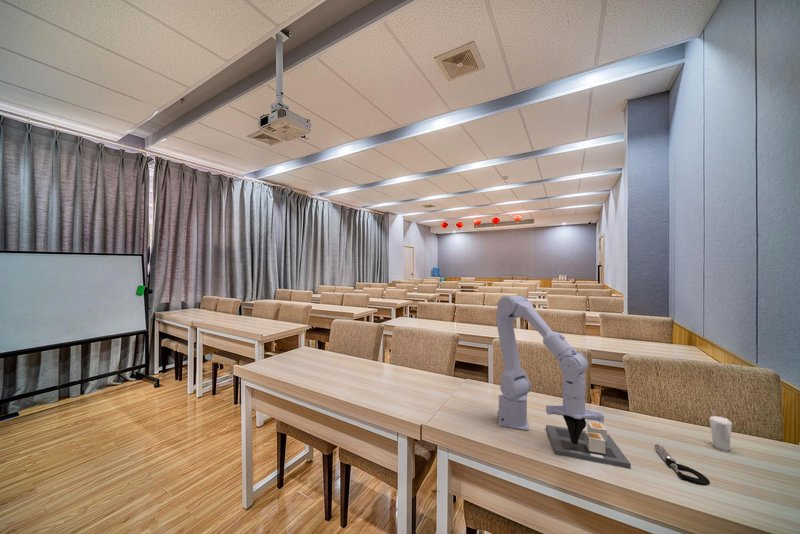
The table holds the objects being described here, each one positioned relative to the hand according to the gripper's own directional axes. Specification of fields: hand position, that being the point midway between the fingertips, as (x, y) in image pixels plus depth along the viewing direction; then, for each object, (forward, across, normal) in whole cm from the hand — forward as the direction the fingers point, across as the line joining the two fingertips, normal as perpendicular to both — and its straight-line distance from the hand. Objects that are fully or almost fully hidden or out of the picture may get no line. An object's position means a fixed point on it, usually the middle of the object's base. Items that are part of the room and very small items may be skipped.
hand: (573, 442), depth 84 cm
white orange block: (+1, +8, +7) cm, 10 cm away
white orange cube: (+1, +5, 0) cm, 5 cm away
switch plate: (+2, +3, +3) cm, 5 cm away
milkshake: (+2, +43, +17) cm, 46 cm away
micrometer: (+3, +26, +2) cm, 26 cm away
